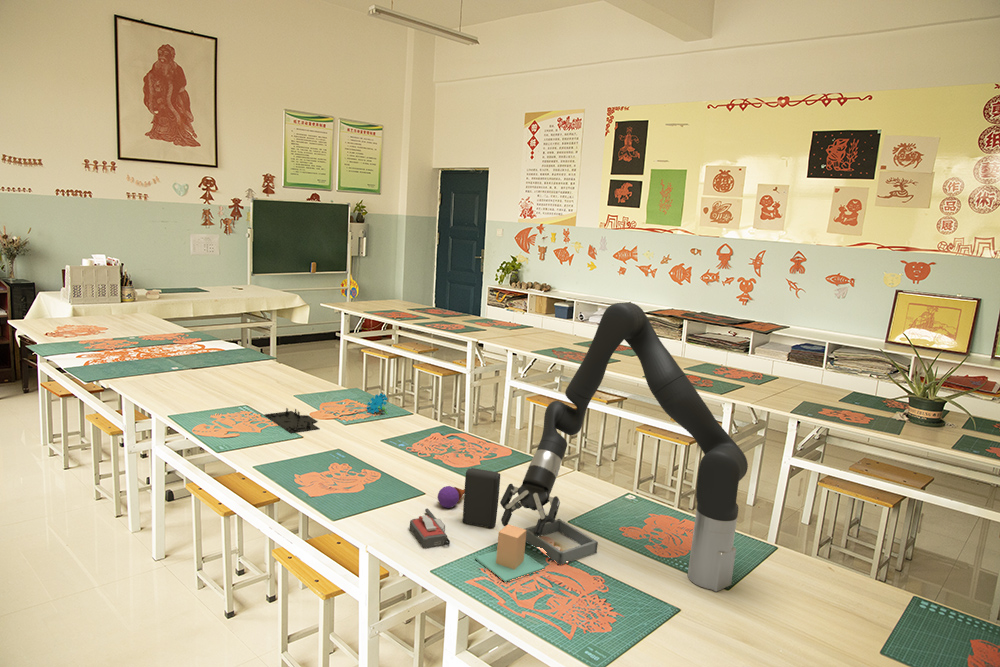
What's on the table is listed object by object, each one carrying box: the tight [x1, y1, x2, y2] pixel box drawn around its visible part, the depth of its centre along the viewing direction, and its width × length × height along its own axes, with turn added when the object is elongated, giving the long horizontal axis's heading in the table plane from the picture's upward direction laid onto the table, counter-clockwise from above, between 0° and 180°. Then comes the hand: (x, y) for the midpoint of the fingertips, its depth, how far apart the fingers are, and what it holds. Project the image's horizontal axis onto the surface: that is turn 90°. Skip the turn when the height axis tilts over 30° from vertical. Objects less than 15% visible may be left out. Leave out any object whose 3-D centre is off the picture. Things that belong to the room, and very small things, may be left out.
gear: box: [365, 392, 389, 415], centre depth 268 cm, size 11×6×10 cm
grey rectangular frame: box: [524, 518, 599, 566], centre depth 166 cm, size 15×13×3 cm
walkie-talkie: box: [409, 508, 451, 550], centre depth 168 cm, size 9×4×20 cm
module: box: [496, 523, 527, 570], centre depth 154 cm, size 5×5×8 cm
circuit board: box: [264, 407, 321, 435], centre depth 247 cm, size 25×14×3 cm, turn 41°
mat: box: [474, 550, 546, 583], centre depth 155 cm, size 12×12×1 cm
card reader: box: [462, 467, 501, 529], centre depth 174 cm, size 9×4×15 cm, turn 77°
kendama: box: [437, 485, 465, 509], centre depth 189 cm, size 6×6×20 cm
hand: (519, 530), depth 157 cm, fingers open, 8 cm apart
